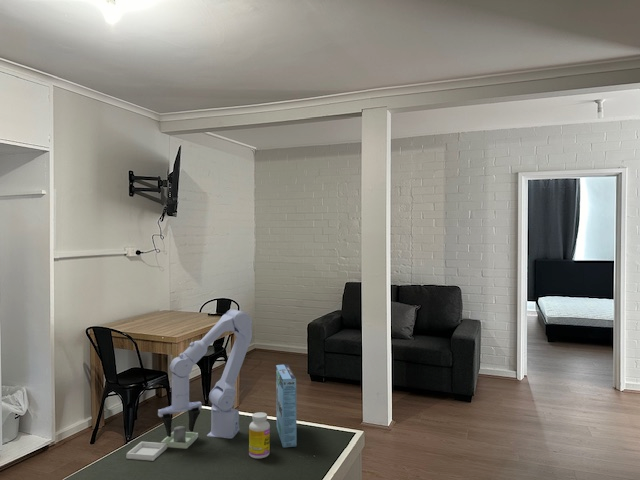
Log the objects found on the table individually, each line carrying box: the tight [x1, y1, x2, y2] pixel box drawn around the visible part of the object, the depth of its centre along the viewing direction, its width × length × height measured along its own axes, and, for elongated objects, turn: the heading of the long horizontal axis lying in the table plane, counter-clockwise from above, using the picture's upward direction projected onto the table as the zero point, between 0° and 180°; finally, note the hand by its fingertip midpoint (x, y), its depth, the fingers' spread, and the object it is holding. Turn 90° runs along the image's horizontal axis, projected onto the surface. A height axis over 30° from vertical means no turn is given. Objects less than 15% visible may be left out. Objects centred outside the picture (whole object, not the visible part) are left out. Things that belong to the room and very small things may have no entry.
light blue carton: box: [275, 364, 298, 448], centre depth 169 cm, size 20×5×23 cm, turn 11°
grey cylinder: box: [173, 425, 187, 443], centre depth 162 cm, size 4×4×5 cm
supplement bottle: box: [248, 411, 271, 459], centre depth 154 cm, size 7×7×13 cm
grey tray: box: [125, 441, 168, 462], centre depth 153 cm, size 9×9×2 cm
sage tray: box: [160, 430, 199, 449], centre depth 162 cm, size 9×9×2 cm
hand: (180, 433), depth 162 cm, fingers open, 7 cm apart
